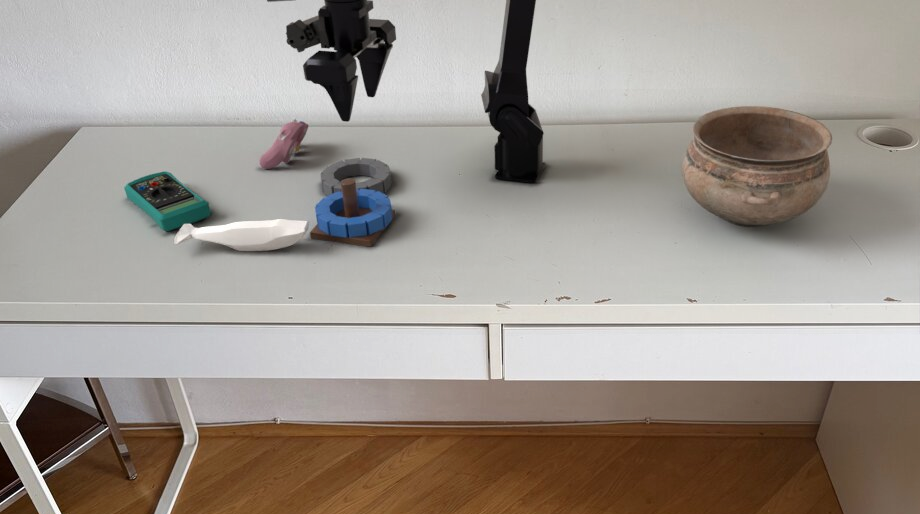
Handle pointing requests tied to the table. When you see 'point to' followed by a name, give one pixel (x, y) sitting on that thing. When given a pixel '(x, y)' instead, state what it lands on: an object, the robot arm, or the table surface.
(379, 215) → the blue ring
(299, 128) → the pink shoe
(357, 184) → the grey ring
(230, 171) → the table surface
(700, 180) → the cooking pot
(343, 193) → the peg stand
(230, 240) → the toy fish
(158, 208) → the digital multimeter
